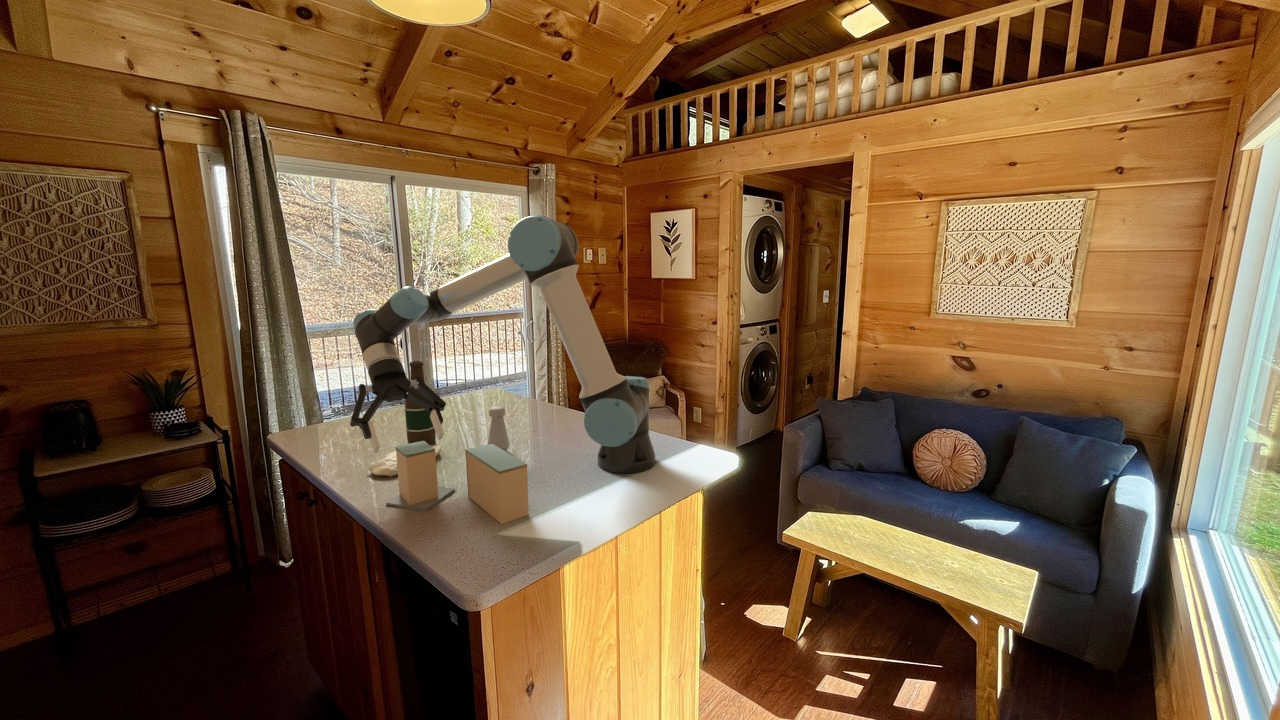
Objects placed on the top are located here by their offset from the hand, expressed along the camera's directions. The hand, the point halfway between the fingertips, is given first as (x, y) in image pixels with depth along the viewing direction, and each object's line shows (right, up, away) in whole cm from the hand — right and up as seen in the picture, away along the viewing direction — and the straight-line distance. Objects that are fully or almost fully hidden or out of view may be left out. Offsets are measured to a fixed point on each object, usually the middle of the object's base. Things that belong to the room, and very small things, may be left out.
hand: (410, 443), depth 113 cm
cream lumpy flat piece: (-9, -9, +19) cm, 23 cm away
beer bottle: (-13, -6, +36) cm, 39 cm away
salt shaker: (+12, -7, +28) cm, 31 cm away
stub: (+2, -11, 0) cm, 12 cm away
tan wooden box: (+20, -13, -4) cm, 24 cm away
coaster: (+3, -12, 0) cm, 12 cm away
